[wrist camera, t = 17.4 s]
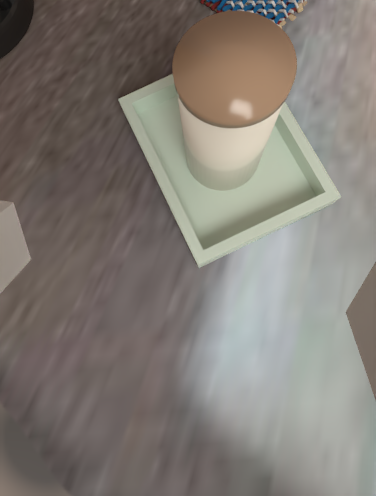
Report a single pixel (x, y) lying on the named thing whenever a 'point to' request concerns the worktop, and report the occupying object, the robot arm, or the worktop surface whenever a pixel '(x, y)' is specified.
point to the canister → (231, 93)
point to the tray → (230, 201)
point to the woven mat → (261, 8)
